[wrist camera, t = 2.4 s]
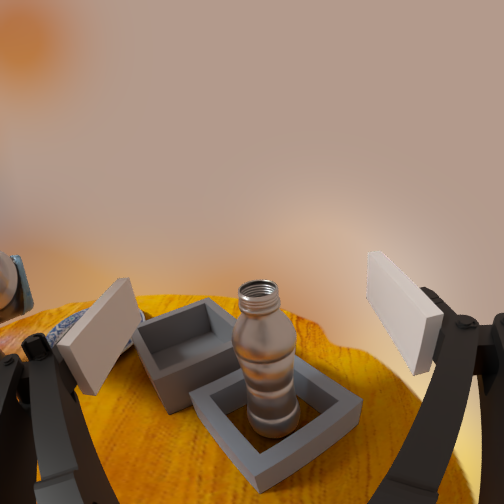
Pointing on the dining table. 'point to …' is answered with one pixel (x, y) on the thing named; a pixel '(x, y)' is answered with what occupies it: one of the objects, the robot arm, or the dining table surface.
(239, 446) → the bottle holder
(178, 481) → the dining table surface
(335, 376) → the dining table surface
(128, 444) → the dining table surface
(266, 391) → the plastic bottle
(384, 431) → the dining table surface
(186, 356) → the bin
